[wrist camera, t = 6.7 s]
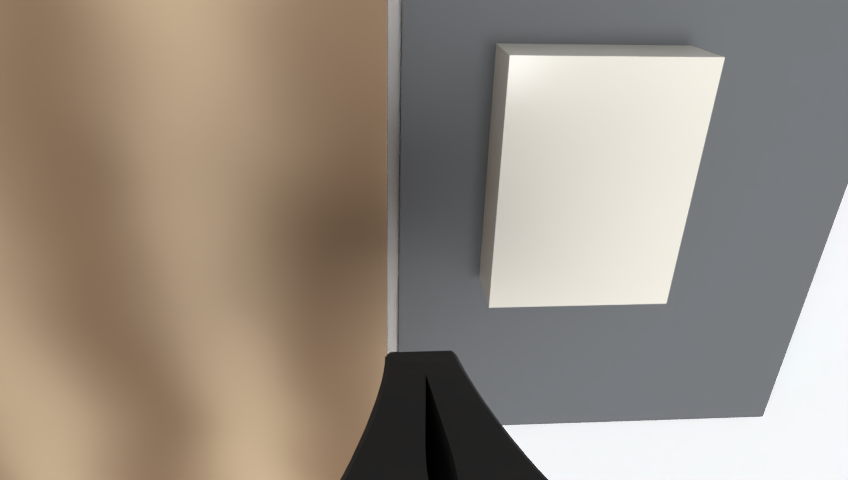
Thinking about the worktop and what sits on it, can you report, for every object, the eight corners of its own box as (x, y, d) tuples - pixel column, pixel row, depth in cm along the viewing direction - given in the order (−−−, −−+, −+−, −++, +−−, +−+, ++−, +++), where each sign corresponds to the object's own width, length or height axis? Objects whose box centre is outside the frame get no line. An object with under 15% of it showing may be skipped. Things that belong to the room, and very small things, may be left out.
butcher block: (-38, 417, 23) (-113, 505, 19) (-230, -50, 16) (-405, -45, 12) (385, 404, 24) (387, 485, 21) (384, -33, 17) (387, -25, 14)
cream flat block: (666, 303, 20) (642, 273, 22) (725, 56, 17) (690, 45, 18) (488, 307, 20) (479, 276, 22) (509, 55, 16) (496, 43, 18)
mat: (397, 423, 25) (397, 428, 24) (403, -159, 16) (404, -160, 15) (758, 411, 26) (762, 416, 26) (954, -135, 17) (964, -136, 17)
